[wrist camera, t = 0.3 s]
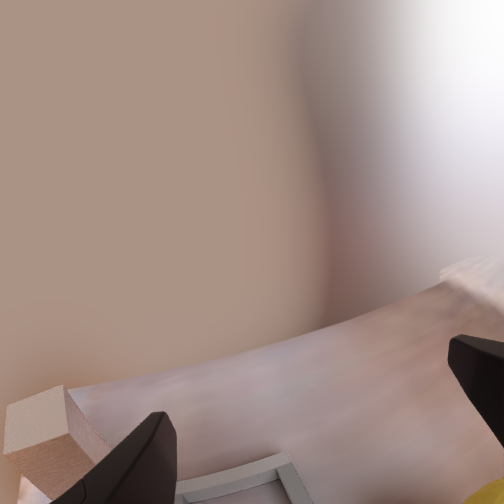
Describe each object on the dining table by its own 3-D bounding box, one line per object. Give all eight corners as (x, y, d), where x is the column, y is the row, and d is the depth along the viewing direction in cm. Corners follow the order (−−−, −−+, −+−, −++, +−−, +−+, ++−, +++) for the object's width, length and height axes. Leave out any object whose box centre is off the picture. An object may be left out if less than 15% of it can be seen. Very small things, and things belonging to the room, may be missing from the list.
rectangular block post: (158, 522, 17) (68, 432, 13) (108, 540, 14) (3, 454, 10) (138, 481, 21) (62, 383, 17) (93, 498, 19) (7, 405, 14)
